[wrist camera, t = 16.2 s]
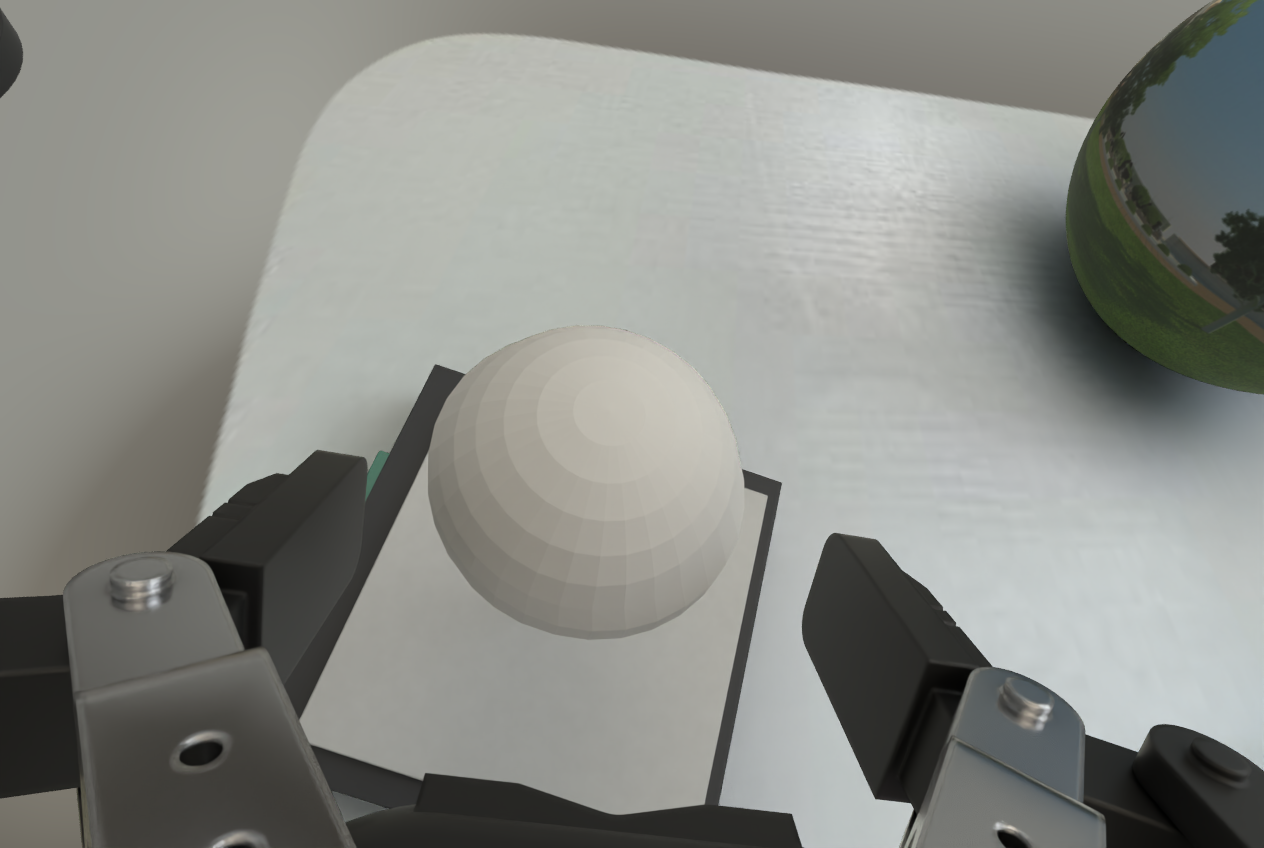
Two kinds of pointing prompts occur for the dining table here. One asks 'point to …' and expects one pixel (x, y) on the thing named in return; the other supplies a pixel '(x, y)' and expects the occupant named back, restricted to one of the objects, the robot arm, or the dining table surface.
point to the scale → (516, 667)
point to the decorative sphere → (1181, 201)
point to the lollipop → (586, 482)
